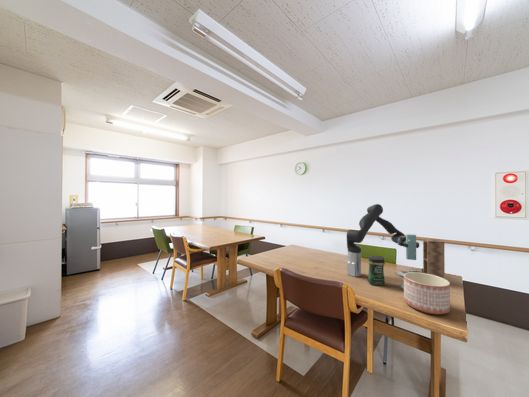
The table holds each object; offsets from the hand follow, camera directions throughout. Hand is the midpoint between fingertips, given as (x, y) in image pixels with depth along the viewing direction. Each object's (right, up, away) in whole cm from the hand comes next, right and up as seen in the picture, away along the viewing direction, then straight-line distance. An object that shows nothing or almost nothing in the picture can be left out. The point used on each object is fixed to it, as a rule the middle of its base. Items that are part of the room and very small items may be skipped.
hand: (412, 246), depth 151 cm
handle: (-13, -23, -23) cm, 35 cm away
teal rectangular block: (+1, -10, +2) cm, 10 cm away
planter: (-22, -23, -41) cm, 52 cm away
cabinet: (+5, -22, -3) cm, 23 cm away
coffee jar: (-32, -23, -11) cm, 41 cm away
